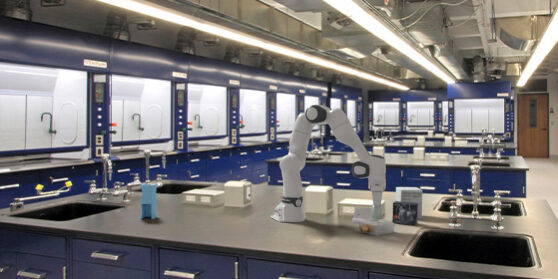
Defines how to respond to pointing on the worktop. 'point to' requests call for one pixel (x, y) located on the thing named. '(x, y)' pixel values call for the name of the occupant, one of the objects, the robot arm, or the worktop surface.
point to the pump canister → (376, 215)
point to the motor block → (376, 226)
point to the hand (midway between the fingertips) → (376, 211)
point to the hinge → (362, 214)
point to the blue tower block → (148, 201)
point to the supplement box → (410, 197)
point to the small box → (405, 213)
